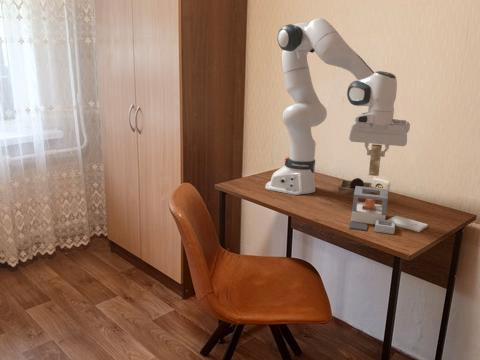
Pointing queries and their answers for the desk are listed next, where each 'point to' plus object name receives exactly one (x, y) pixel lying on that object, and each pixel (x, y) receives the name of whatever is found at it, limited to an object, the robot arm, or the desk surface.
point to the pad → (358, 226)
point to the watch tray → (351, 190)
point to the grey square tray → (384, 226)
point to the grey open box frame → (364, 214)
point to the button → (369, 204)
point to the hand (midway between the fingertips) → (375, 155)
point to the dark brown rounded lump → (356, 183)
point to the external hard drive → (408, 223)
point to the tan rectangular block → (375, 160)
